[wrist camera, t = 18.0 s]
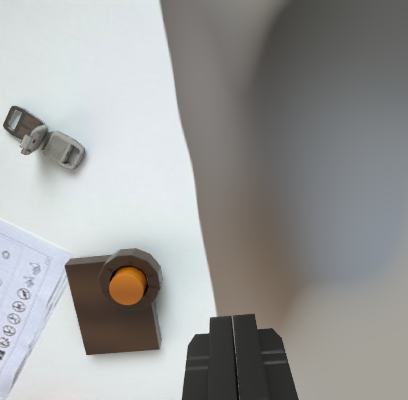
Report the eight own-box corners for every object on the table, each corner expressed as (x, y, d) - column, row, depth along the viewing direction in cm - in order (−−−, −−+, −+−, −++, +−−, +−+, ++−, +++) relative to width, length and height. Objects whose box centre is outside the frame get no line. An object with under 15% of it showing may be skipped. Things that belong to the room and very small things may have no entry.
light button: (110, 268, 38) (105, 275, 36) (143, 265, 38) (140, 272, 36) (116, 297, 39) (112, 306, 37) (149, 294, 38) (146, 303, 37)
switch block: (68, 248, 41) (54, 262, 37) (159, 240, 40) (154, 252, 37) (91, 345, 44) (80, 366, 41) (175, 339, 44) (172, 359, 40)
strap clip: (88, 147, 37) (73, 153, 33) (75, 171, 38) (59, 179, 34) (15, 102, 36) (-10, 103, 32) (3, 128, 37) (-23, 131, 33)
